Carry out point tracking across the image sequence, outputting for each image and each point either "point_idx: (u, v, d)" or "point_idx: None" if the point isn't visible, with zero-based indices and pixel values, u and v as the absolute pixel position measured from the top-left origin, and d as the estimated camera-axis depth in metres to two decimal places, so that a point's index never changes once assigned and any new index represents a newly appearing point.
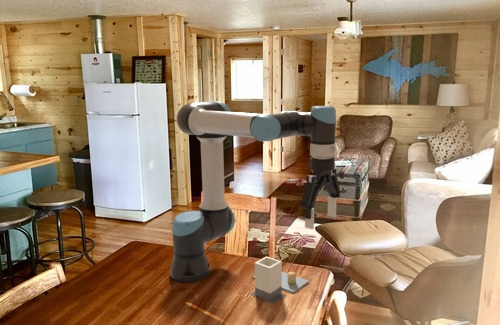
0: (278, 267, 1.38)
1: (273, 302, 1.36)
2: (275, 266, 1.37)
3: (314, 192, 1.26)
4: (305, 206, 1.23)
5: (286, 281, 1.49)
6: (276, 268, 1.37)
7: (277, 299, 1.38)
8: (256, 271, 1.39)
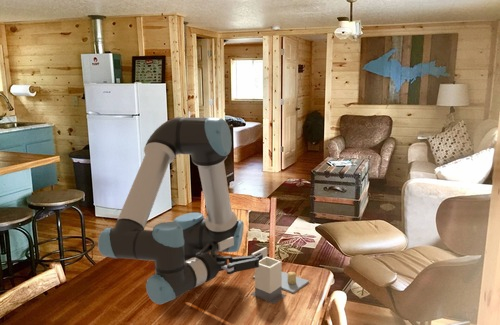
0: (278, 267, 1.38)
1: (273, 302, 1.36)
2: (275, 266, 1.37)
3: None
4: None
5: (286, 281, 1.49)
6: (276, 268, 1.37)
7: (277, 299, 1.38)
8: (256, 271, 1.39)
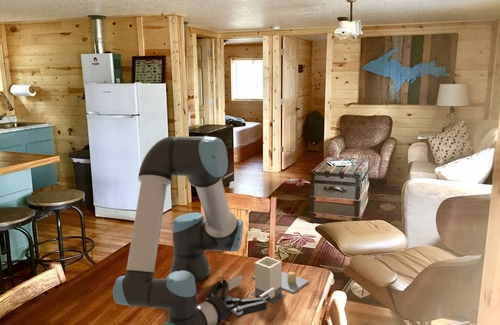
0: (278, 267, 1.38)
1: (273, 302, 1.36)
2: (275, 266, 1.37)
3: None
4: None
5: (286, 281, 1.49)
6: (276, 268, 1.37)
7: (277, 299, 1.38)
8: (256, 271, 1.39)
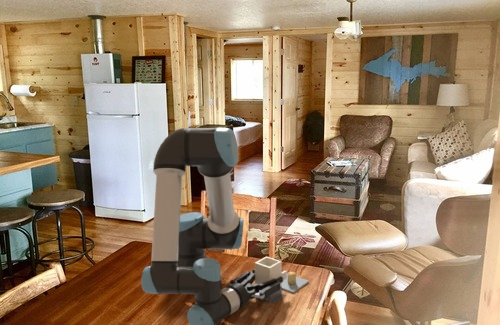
0: (278, 267, 1.38)
1: (273, 302, 1.36)
2: (275, 266, 1.37)
3: None
4: None
5: (286, 281, 1.49)
6: (276, 268, 1.37)
7: (277, 299, 1.38)
8: (256, 271, 1.39)
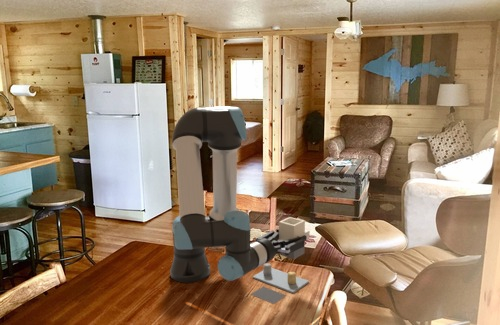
0: (302, 226, 1.42)
1: (273, 302, 1.36)
2: (299, 224, 1.41)
3: None
4: None
5: (286, 281, 1.49)
6: (300, 226, 1.42)
7: (277, 299, 1.38)
8: (280, 230, 1.43)
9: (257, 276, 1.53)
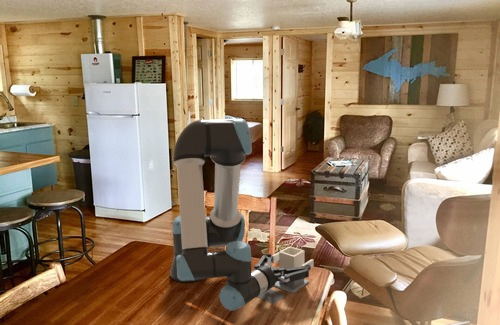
0: (301, 256, 1.45)
1: (273, 302, 1.36)
2: (299, 255, 1.44)
3: None
4: None
5: None
6: (300, 256, 1.44)
7: (277, 299, 1.38)
8: (280, 260, 1.45)
9: None
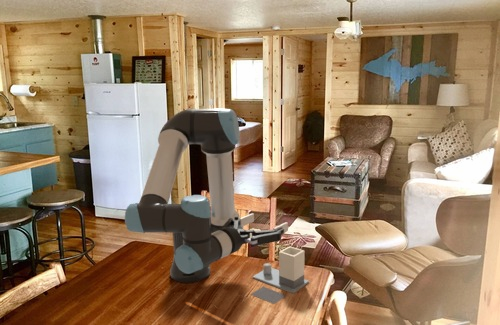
0: (301, 256, 1.45)
1: (273, 302, 1.36)
2: (299, 255, 1.44)
3: None
4: None
5: None
6: (300, 256, 1.44)
7: (277, 299, 1.38)
8: (280, 260, 1.45)
9: (257, 276, 1.53)
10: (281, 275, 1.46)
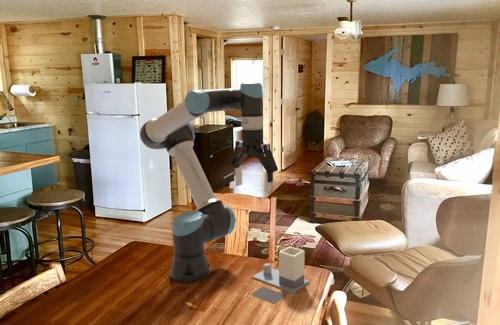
0: (301, 256, 1.45)
1: (273, 302, 1.36)
2: (299, 255, 1.44)
3: None
4: None
5: None
6: (300, 256, 1.44)
7: (277, 299, 1.38)
8: (280, 260, 1.45)
9: (257, 276, 1.53)
10: (281, 275, 1.46)
